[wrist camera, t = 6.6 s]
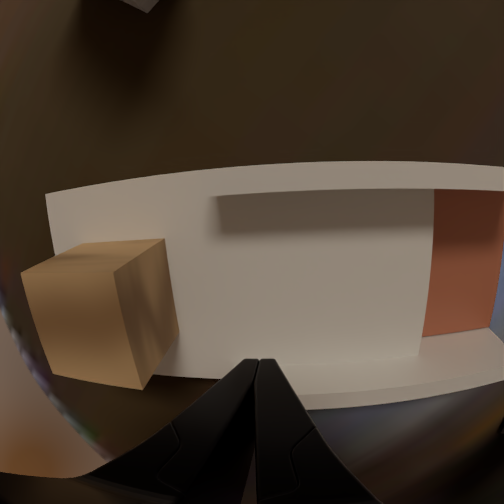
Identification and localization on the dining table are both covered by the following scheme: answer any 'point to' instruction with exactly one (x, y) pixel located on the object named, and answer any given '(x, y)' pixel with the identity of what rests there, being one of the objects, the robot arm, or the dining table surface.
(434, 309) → the trap channel
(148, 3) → the grey box
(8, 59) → the dining table surface
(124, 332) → the oak block
